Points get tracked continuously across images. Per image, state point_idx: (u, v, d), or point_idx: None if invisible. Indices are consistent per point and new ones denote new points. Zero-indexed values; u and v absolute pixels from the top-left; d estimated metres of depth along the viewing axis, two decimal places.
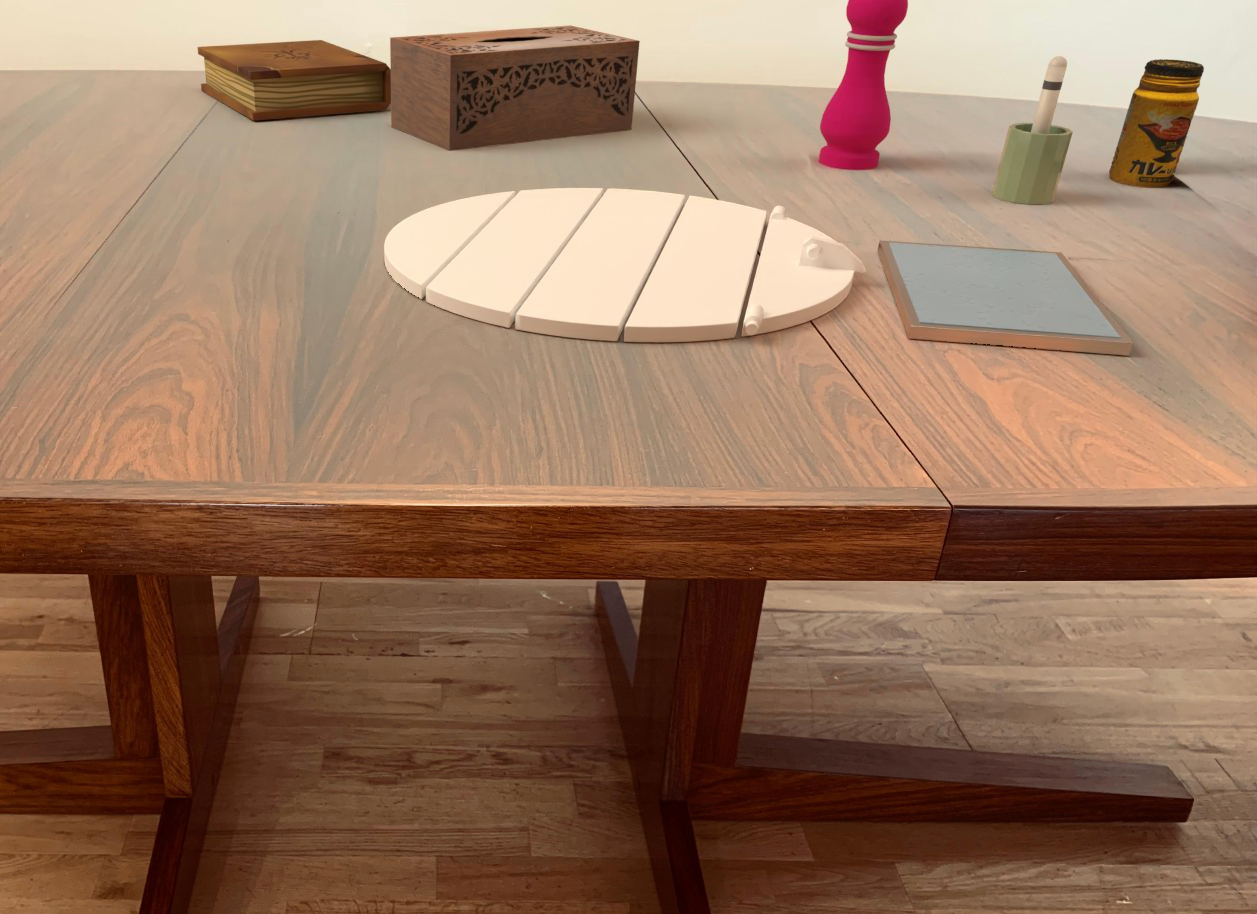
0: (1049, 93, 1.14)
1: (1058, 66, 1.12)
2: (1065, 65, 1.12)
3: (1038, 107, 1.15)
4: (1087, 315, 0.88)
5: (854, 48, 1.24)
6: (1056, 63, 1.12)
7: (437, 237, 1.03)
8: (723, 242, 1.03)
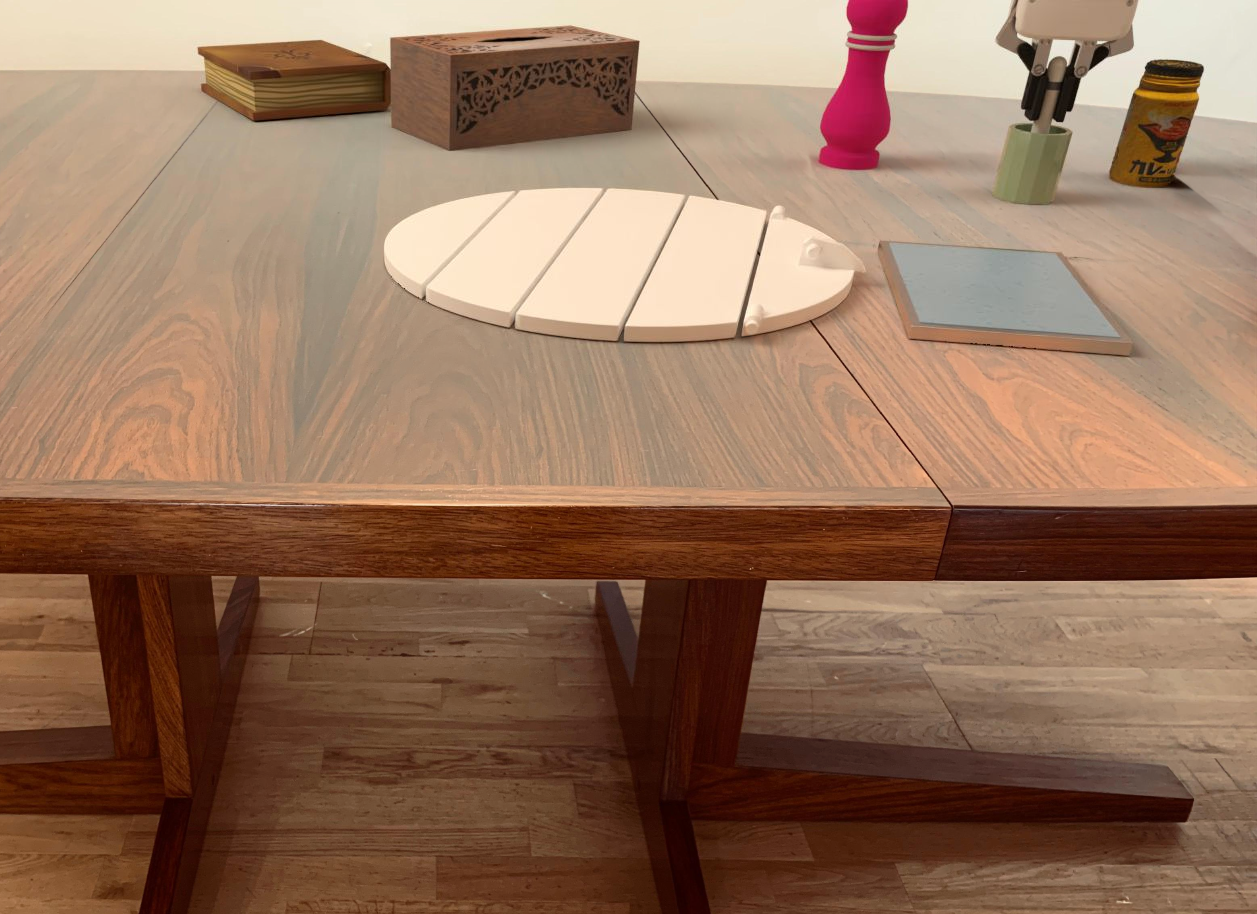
0: (1049, 93, 1.14)
1: (1058, 66, 1.12)
2: (1065, 65, 1.12)
3: None
4: (1087, 315, 0.88)
5: (854, 48, 1.24)
6: (1056, 63, 1.12)
7: (437, 237, 1.03)
8: (723, 242, 1.03)
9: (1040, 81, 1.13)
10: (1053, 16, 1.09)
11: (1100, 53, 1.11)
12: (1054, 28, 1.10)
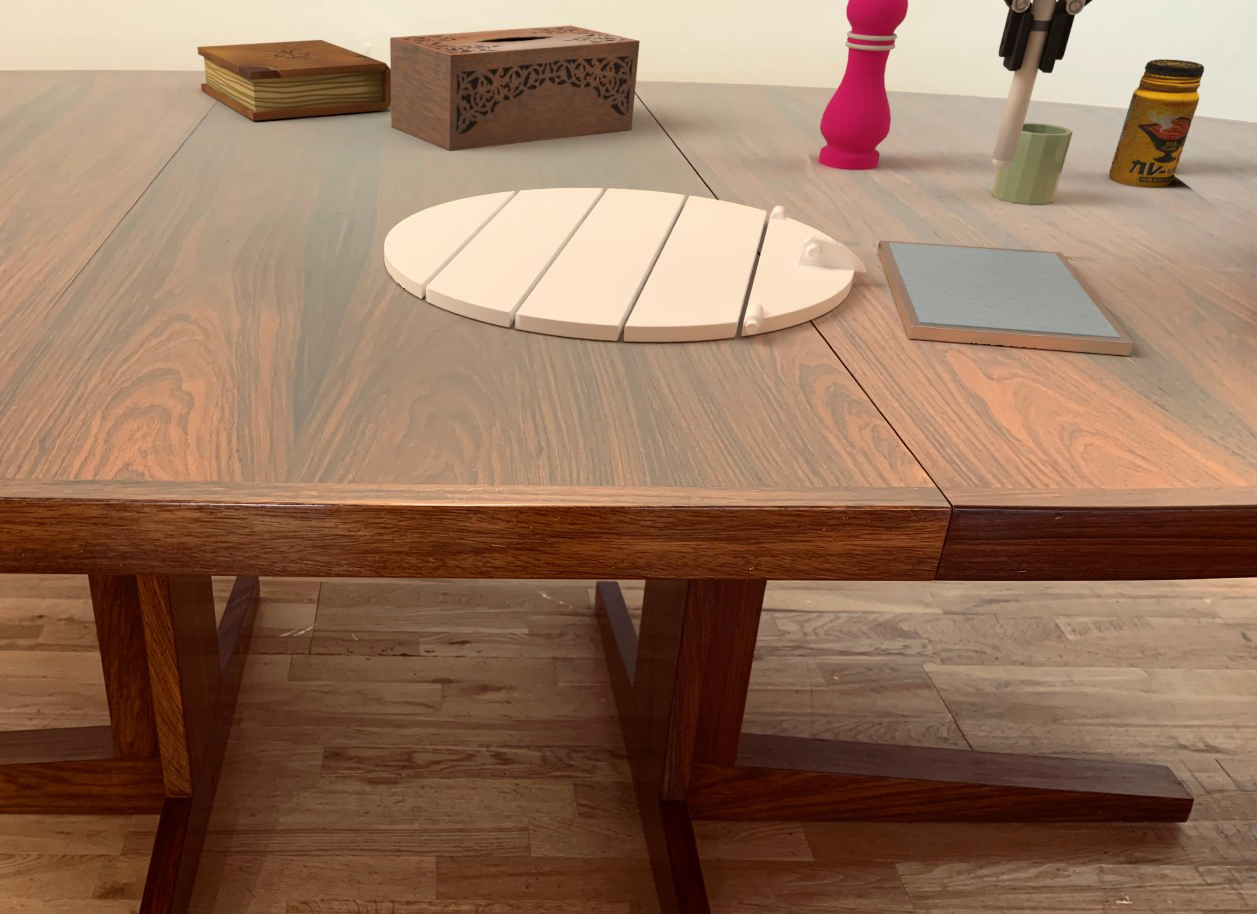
0: (1034, 35, 0.89)
1: (1045, 0, 0.88)
2: None
3: None
4: (1087, 315, 0.88)
5: (854, 48, 1.24)
6: None
7: (437, 237, 1.03)
8: (723, 242, 1.03)
9: (1023, 19, 0.88)
10: None
11: None
12: None
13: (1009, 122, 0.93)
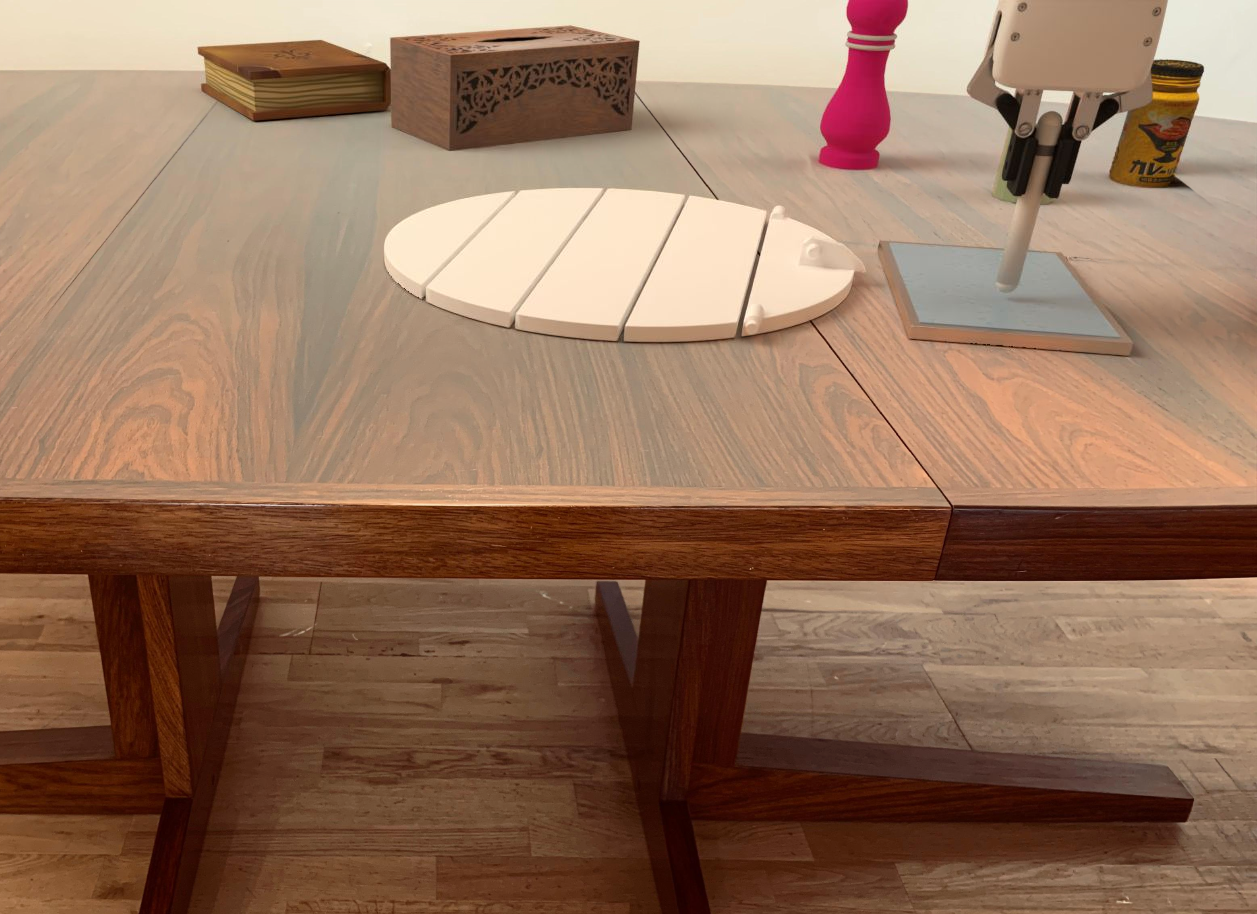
0: (1038, 159, 0.85)
1: (1050, 125, 0.84)
2: (1060, 123, 0.84)
3: None
4: (1087, 315, 0.88)
5: (854, 48, 1.24)
6: (1048, 121, 0.84)
7: (437, 237, 1.03)
8: (723, 242, 1.03)
9: (1027, 145, 0.84)
10: (1043, 59, 0.80)
11: (1107, 108, 0.82)
12: (1045, 75, 0.81)
13: (1013, 246, 0.89)
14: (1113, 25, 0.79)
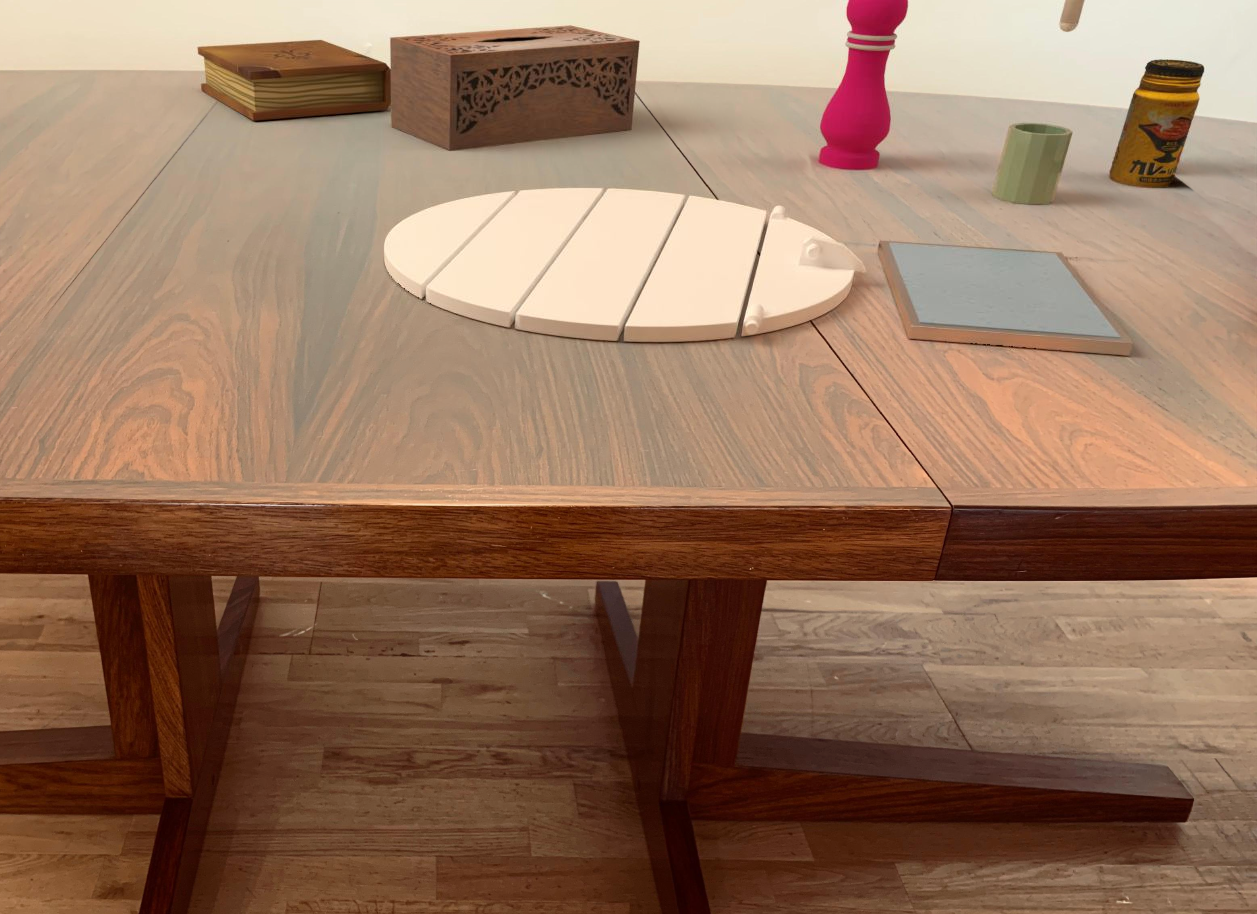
0: None
1: None
2: None
3: None
4: (1087, 315, 0.88)
5: (854, 48, 1.24)
6: None
7: (437, 237, 1.03)
8: (723, 242, 1.03)
9: None
10: None
11: None
12: None
13: None
14: None
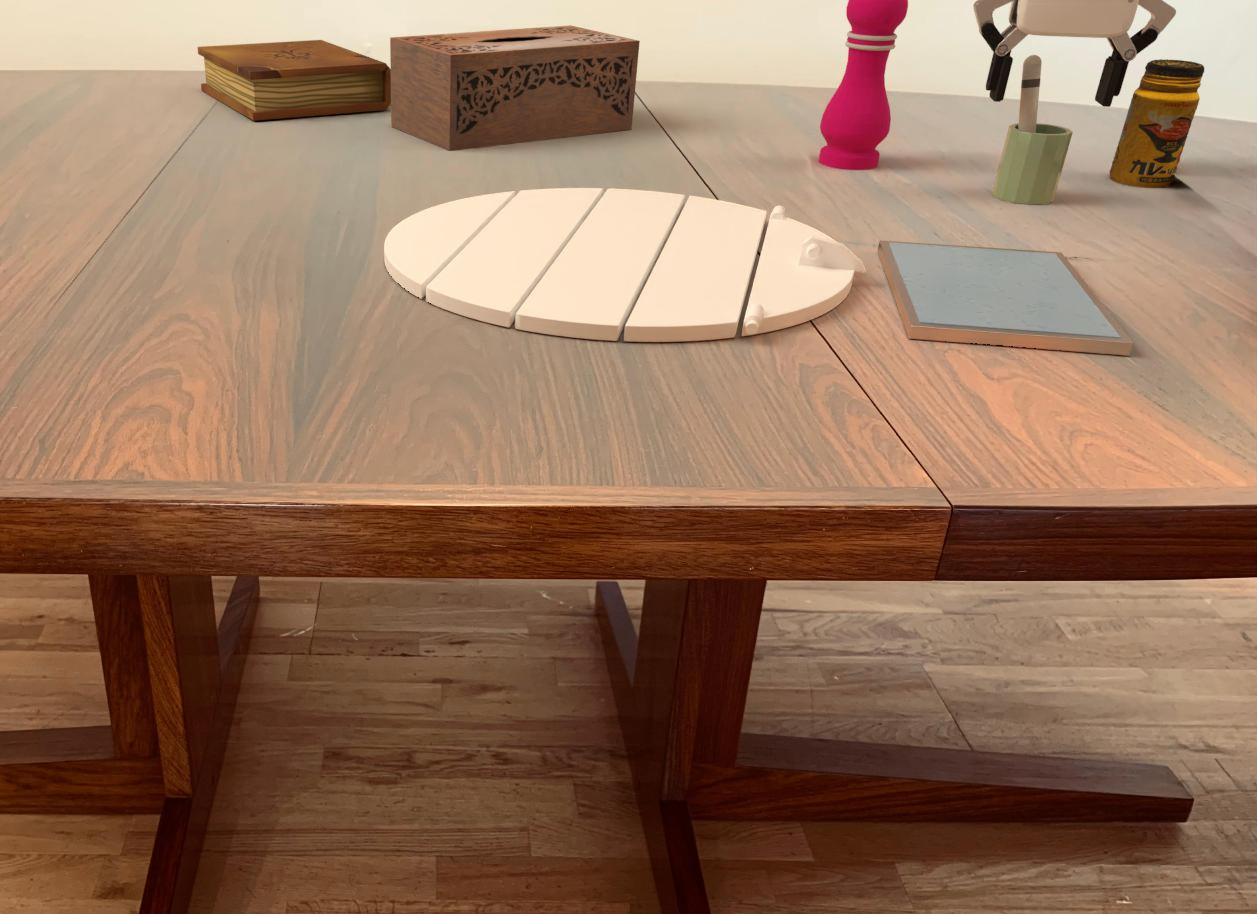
0: (1028, 90, 1.15)
1: (1032, 64, 1.14)
2: (1040, 62, 1.14)
3: (1020, 106, 1.16)
4: (1087, 315, 0.88)
5: (854, 48, 1.24)
6: (1030, 61, 1.14)
7: (437, 237, 1.03)
8: (723, 242, 1.03)
9: (1004, 61, 1.13)
10: (1054, 13, 1.09)
11: (1149, 36, 1.10)
12: (1055, 25, 1.10)
13: None
14: None
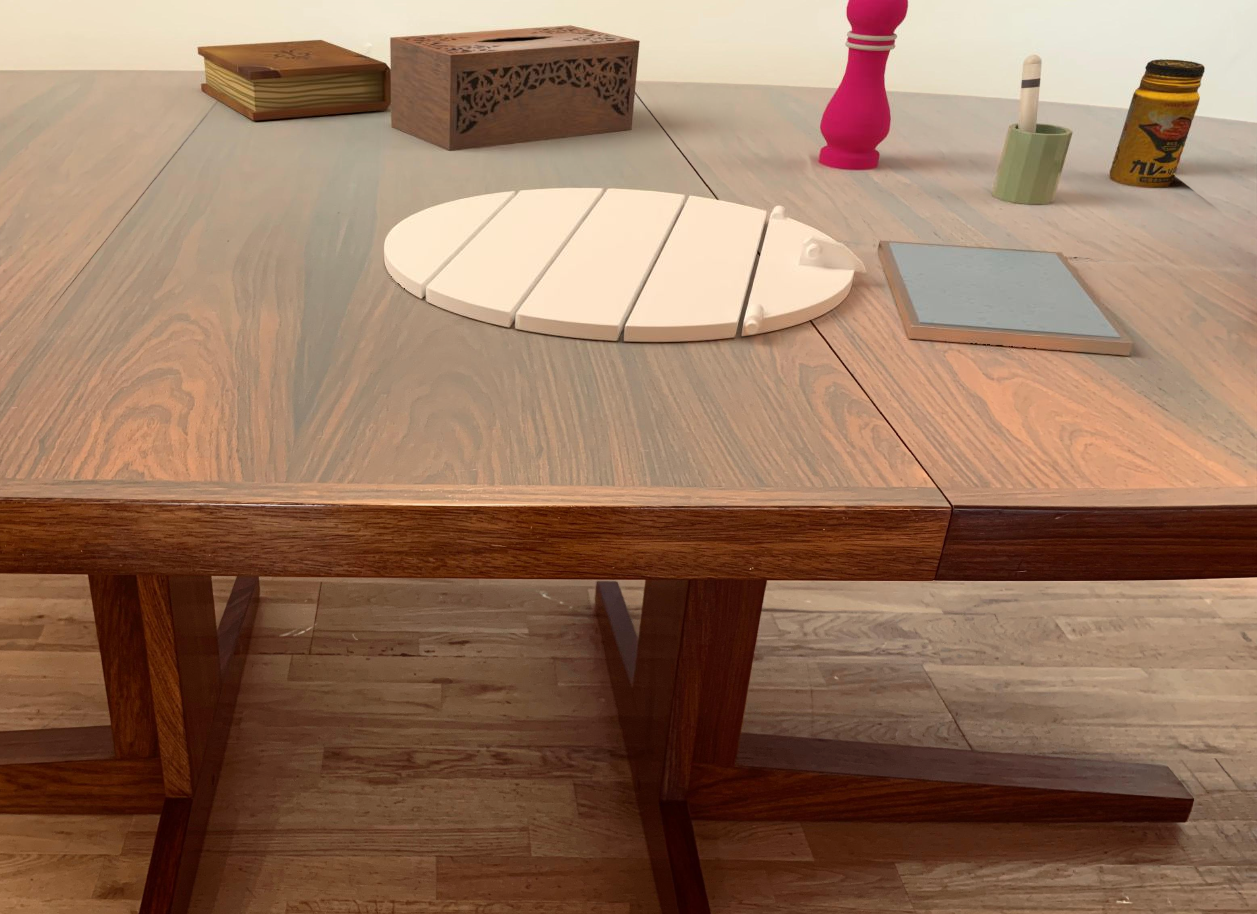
0: (1028, 90, 1.15)
1: (1032, 64, 1.14)
2: (1040, 62, 1.14)
3: (1020, 106, 1.16)
4: (1087, 315, 0.88)
5: (854, 48, 1.24)
6: (1030, 61, 1.14)
7: (437, 237, 1.03)
8: (723, 242, 1.03)
9: None
10: None
11: None
12: None
13: None
14: None
